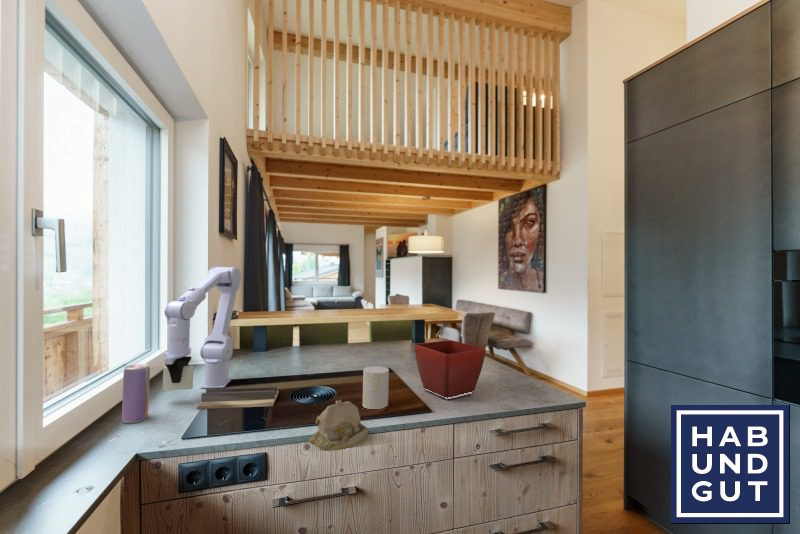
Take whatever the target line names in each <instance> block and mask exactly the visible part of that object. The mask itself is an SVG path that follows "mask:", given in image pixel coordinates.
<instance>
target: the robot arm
mask: <svg viewBox="0 0 800 534" xmlns="http://www.w3.org/2000/svg"><path fill="white" fill-rule="evenodd" d="M242 277H243V276H242V272H241V271H240V268H239V267H237V266H217V265H216V266H212V267H211V268H210V269H209V270H208V272H207V275H206V277H204V278H203V280H202V281H201V282H200V283H199V284H198V285H197V286H190V287H189V288H188V289H187V291H186V292H185V293H183V294H182V295H181V296H179V298H178V299H177V300H172V301H170V302H169V303H167V305H166V307H165V310H164V316H165V318H166V323H167V324H168V340H167V341H168V345H167V346H168V348H167V349H168V350H167V352H166V351H165V352H163V356H166V357H165V358H164V365H165V367H167V368H168V370H169V373H170V377H171V381H172V383H180V381H181V377H182V371H183V368H184V366H189V363H190V361H191V360H192V356H190V354H192V347H190V337H191V336H190V330H191V329H190V327H191V319H192V318H193V317H194V316H195V312H196V310H197V308H198V306H200V304H202V302H204V301H205V300H206V297H207V293H209V291H211V290H212V289H213V288H214V287H215V288H216V289H217V290H219V291H220V293H221V294H220V298H219V301H218V302H219V303H218V306H217V310H216V316H215V319H214V320H215V321H214V323H213V328H212V332H211V334H210V335H208V336H206V337H205V338H204V340H203V343H202V344H201V347H200V350H199V356H200V358H201V359H203V360H202V361H203V363H205V364H204V383H203V384H202V385H200V388H199V389H211V388H226V386H227V385H228V384H229V383H230V382H231V381H232V379H231V378H229V375H230V374H229V371H230V364H229V361H230V359H231V358H232V356H233V352H234V348H233V347H234V340H233V338H231V337H230V335H229V334H228V333H229V329H230V326H231V325H230V324H231V320H232V315H233V311H234V308H235V304H236V303H235V302H236V297H237V293H238V291H239V289H240V286H241V281H242Z"/></svg>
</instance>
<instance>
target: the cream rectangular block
mask: <svg viewBox="0 0 800 534" xmlns="http://www.w3.org/2000/svg"><path fill="white" fill-rule="evenodd" d="M162 372H163V373H162V391H177V390H178V391H179V390H180V391H181V390H191V389H193V386H194V365H188V366H184V368H183V371H182V377H181V381H180V383H172V381H171V377H170V373H169V370H168V368H167V367H166V366H164V367H163V371H162Z"/></svg>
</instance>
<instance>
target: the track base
mask: <svg viewBox="0 0 800 534" xmlns="http://www.w3.org/2000/svg"><path fill="white" fill-rule="evenodd" d="M200 395H201V396H200V397H201V399H200V403H199V404H197V406H196V408H197V410H208V409H209V410H211V409H212V410H213V409H214V410H215V409H232V408H233V409H235V408H237V409H238V408H254V407H255V408H258V407H273V406H274V404H275V402H276V400H277V397H278V396H279V390H278V386H248V387H245V386H244V387H223V388H205V392H202V393H201V394H200Z"/></svg>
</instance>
